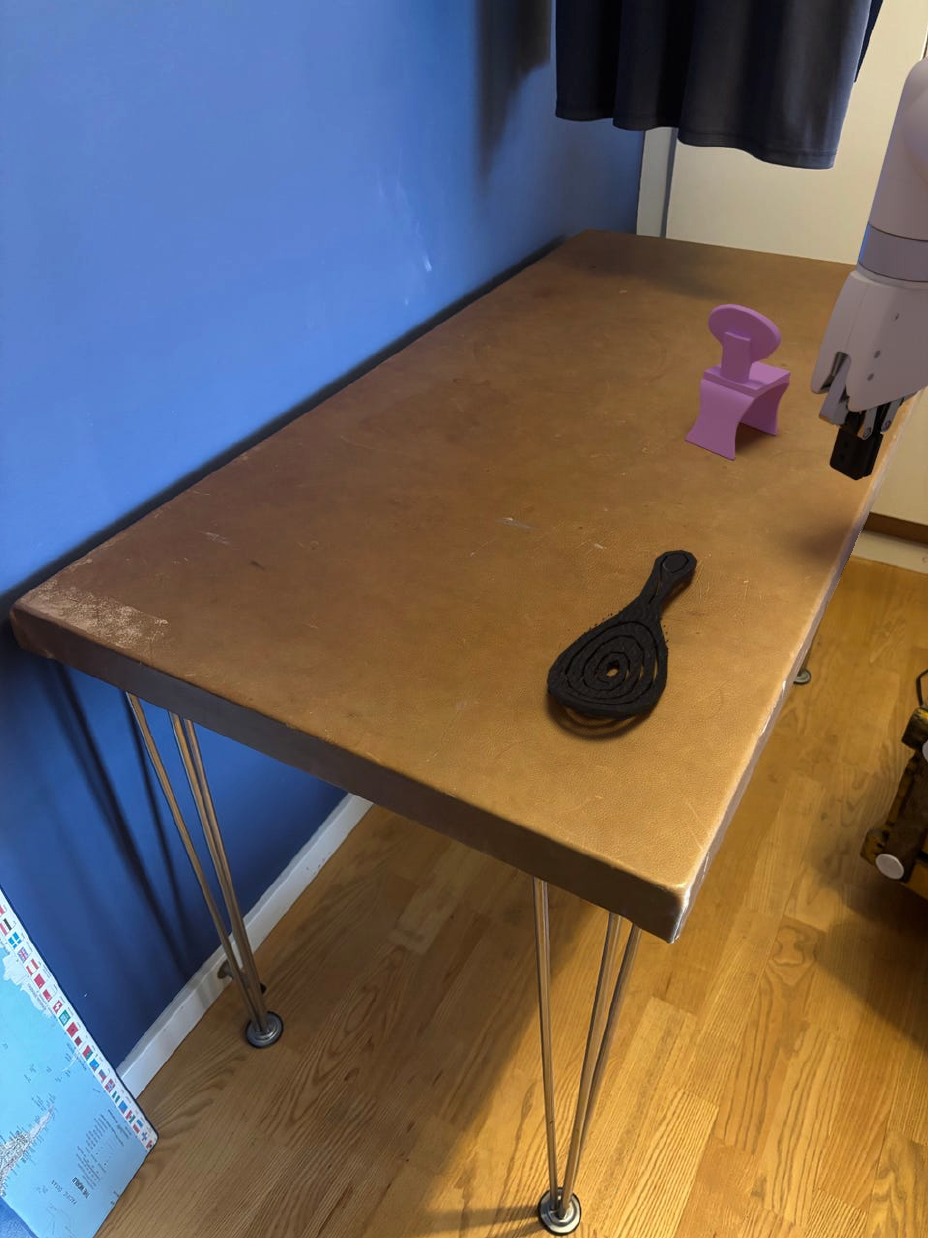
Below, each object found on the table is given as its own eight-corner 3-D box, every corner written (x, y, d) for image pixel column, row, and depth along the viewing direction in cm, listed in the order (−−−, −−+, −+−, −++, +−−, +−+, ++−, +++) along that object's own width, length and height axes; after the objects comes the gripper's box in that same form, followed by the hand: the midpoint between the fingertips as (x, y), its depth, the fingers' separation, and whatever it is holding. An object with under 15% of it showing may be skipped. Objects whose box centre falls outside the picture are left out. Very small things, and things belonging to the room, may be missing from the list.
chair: (787, 436, 100) (820, 300, 90) (741, 463, 95) (770, 323, 86) (724, 411, 105) (749, 279, 95) (676, 436, 100) (697, 300, 91)
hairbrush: (736, 544, 79) (635, 714, 61) (728, 579, 81) (628, 754, 63) (645, 519, 82) (524, 675, 64) (639, 554, 84) (521, 714, 66)
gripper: (936, 222, 72) (872, 431, 84) (803, 255, 66) (754, 475, 78) (1024, 248, 67) (943, 466, 79) (889, 286, 61) (822, 516, 73)
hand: (849, 470), depth 78 cm, fingers closed
